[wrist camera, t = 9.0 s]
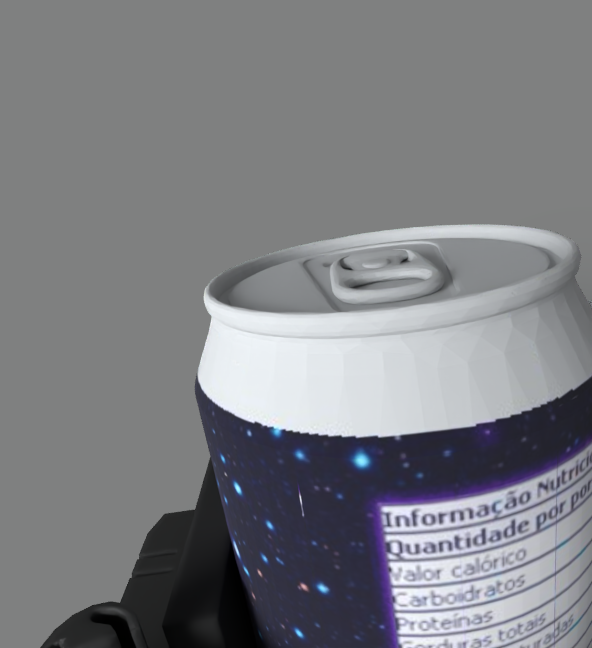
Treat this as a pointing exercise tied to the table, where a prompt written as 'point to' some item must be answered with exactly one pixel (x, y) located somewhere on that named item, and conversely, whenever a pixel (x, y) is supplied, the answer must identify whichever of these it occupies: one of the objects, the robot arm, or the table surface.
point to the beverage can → (406, 438)
